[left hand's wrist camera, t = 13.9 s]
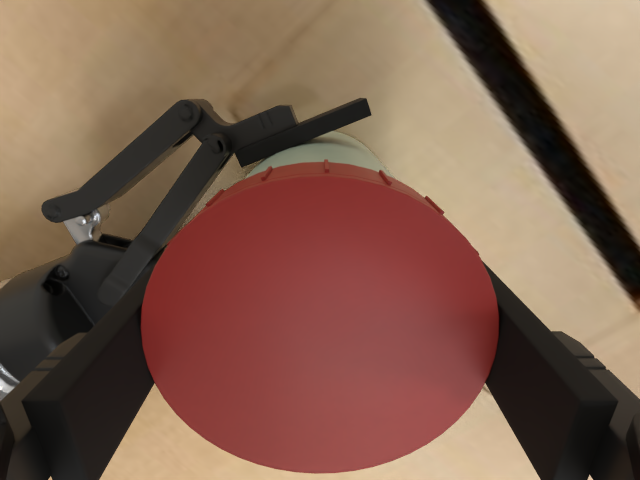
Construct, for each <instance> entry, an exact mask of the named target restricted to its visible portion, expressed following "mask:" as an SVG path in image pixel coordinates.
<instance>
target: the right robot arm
mask: <svg viewBox="0 0 640 480" xmlns="http://www.w3.org/2000/svg"><path fill="white" fill-rule="evenodd" d="M368 116H371V112H370V108H369V105H368V102H367V99H366V98H359V99H356V100H354V101H352V102H349V103H347V104H344V105H342V106H339V107H337V108H334V109H332V110H330V111H327V112H325V113H322V114H320V115H317V116H315V117H313V118H310V119H308V120H305V121H303V122H300V123H298V121H297V118H296V116H295V113H294V111H293V108H292V106H291V105H279V106H276V107H274V108H271V109H269V110H267V111H264V112H262V113H259V114H257V115H255V116H252V117H250V118H248V119H245V120H243V121H240V122H238V123H236V124H231V123H227V122H225V121H224V120H222V119H221V118H220V117H219V116H218V115H217V114H216V112H215V111H214V110H213V107H212V106H211V104H210V103H209V102H208V101H206V100H204V99H188V100H180V101H179V102H177V103H176V104H174V105H173V106H172V107H171V108H170V109H169V110H168V111H167V112H165V113H164V114H163V115H162V116H161V117H160V118H159V119H158V120H156V121H155V122H154V123H153V124H152V125H151V126H150V127H149V128H147V129H146V130H145V131H144V132H143V133H142V134H141V135H140V136H138V137H137V138H136V139H135V140H134V141H133V142H132V143H131V144H129V145H128V146H127V147H126V148H125V149H124V150H123V151H122V152H120V153H119V154H118V155H117V156H116V157H115V158H114V159H113V160H111V161H110V162H109V163H108V164H107V165H106V166H105V167H104V168H102V169H101V170H100V171H99V172H98V173H97V174H96V175H95V176H93V177H92V178H91V179H90V180H89V181H88V182H87V183H86V184H84V185H83V186H82V187H81V188H78V189H75V190H73V191H70V192H68V193H65V194H62V195H60V196H57V197H55V198H52V199H50V200H47V201H45V202H44V203H43V205H42V213H43V215H44V216H45V217H46V219H48V220H50V221H51V222H55V223H58V222H64V224H65V226H66V227H67V229H68V231H69V232H70V234H71V236H72V238H73V239H74V241H75V243H76V244H77V245H76V246H75V247H74V248H73V250H72V251H71V253H70V254H69V255H67V256H64V257H62V258H59V259H57V260H54V261H51V262H49V263H46V264H44V265H41V266H39V267H36V268H34V269H31V270H29V271H26V272H24V273H21V274H19V275H17V276H15V277H14V278H10V279H6V280H3V281H1V282H0V401H1V400H2V399H3V398H4V397H5V396H6V395H7V394H8V393H9V392H10V391H11V390H12V389H14V388H15V387H16V386H17V385H18V384H19V383H20V382H21V381H22V380H23V379H24V378H25V377H26V376H27V375H28V374H29V373H30V372H31V371H34V370H35V367H36V366H38V365H39V364H40V363H41V362H42V361H43V360H46V357H47V356H48V355H49V354H50V353H51V352H52V351H53V350H54V349H55V348H56V347H57V346H58V345H59V344H61V343H62V342H64V341H66V340H67V339H69V338H71V337H72V336H74V335H76V334H77V333H88V332H89V331H90V330H91V329H92V328H93V327H94V326H95V325H96V324H97V323H98V322H99V321H100V320H101V319H102V318H103V316H104V315H105V314H106V313H107V312H108V311H109V310H110V309H111V308H112V307H113V306H114V305H115V304H116V303H117V302H118V301H119V300H120V299H121V298H122V297H123V296H124V295H125V294H126V293H127V292H128V291H129V290H130V289H131V288H132V287H133V286H134V285H135V284H136V283H137V282H138V281H139V280H140V279H141V278H142V276H143V275H144V274H145V273H146V272H147V271H148V270H149V269H150V268H151V267H152V266H153V265H154V264H155V263H156V262H157V261H158V260H159V259H160V257H161V255H162V254H163V252H164V251H165V248H166V247H167V243H168V242H169V241H170V240H171V239H172V238H173V237H174V236H175V235H176V233H177V232H178V229H179V228H180V227H181V225H182V224H183V222H184V221H185V220H186V218H187V217H188V216H189V214H190V213H191V211H192V210H193V209H194V207H195V206H196V205H197V203H198V202H199V201H200V199H201V198H202V196H203V195H204V194H205V192H206V191H207V190H208V188H209V187H210V185H211V184H212V183H213V181H214V180H215V179H216V177H217V176H218V175H219V173H220V172H221V170H222V169H223V168H224V166H225V165H226V164H227V162H228V161H229V159H230V158H231V157H232V155H233V154H234V153H235V155H236V157H237V159H238V161H239V163H240V165H241V167H244V166H246V165H249V164H251V163H254V162H256V161H259V160H261V159H264V158H266V157H269V156H271V155H274V154H276V153H279V152H281V151H284V150H286V149H289V148H291V147H294V146H296V145H299V144H301V143H304V142H306V141H309V140H311V139H314V138H316V137H319V136H321V135H323V134H326V133H328V132H331V131H333V130H336V129H338V128H341V127H343V126H346V125H348V124H351V123H353V122H356V121H358V120H361V119H363V118H366V117H368ZM193 135H194V136H195V137H196V138H197V139H198V140H199V141H200V142H201V143H202V144H201V146H200V147H199V149H198V150H197V152H196V153H195V155H194V156H193V158H192V159H191V160H190V162H189V163H188V165H187V166H186V168H185V169H184V171H183V172H182V173H181V175H180V176H179V178H178V179H177V181H176V182H175V184H174V185H173V186H172V188H171V189H170V191H169V192H168V194H167V195H166V197H165V198H164V199H163V201H162V202H161V204H160V205H159V207H158V208H157V210H156V211H155V212H154V214H153V215H152V217H151V218H150V220H149V221H148V223H147V224H146V225H145V227H144V228H143V230H142V231H141V232H140V234H139V235H138V236H137V237H136V238H135V239H134V240H130V239H126V238H122V237H117V236H113V235H109V234H102V233H101V231H100V226H101V223H102V222H103V221H105V220H106V219H107V218H108V217H109V211H110V205H109V204H108V203H109V202H111V201H113V200H115V199H117V198H119V197H121V196H122V195H123V194H125V193H126V192H127V191H128V190H130V189H131V188H132V187H133V186H134V185H136V184H137V183H138V182H139V181H140V180H141V179H143V178H144V177H145V176H146V175H147V174H149V173H150V172H151V171H152V170H153V169H154V168H156V167H157V166H158V165H159V164H160V163H161V162H163V161H164V160H165V159H166V158H167V157H169V156H170V155H171V154H172V153H173V152H174V151H176V150H177V149H178V148H179V147H180V146H182V145H183V144H184V143H185V142H186V141H187V140H189V139H190V138H191V137H192V136H193Z"/></svg>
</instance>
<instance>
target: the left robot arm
mask: <svg viewBox="0 0 640 480" xmlns="http://www.w3.org/2000/svg"><path fill="white" fill-rule="evenodd" d="M157 262H158V261H157ZM157 262H156V263H155V264H154V265H153V266H152V267H151V268H150V269H149V270H148V271H147V272H146V273H145V274H144V275H143V276H142V278H141V279H140V280H139V281H138V282H137V283H136V284H135V285H134V286H133V287H132V288H131V289H130V290H129V291H128V292H127V293H126V294H125V295H124V296H123V297H122V298H121V299H120V300H119V301H118V302H117V303H116V304H115V305H114V306H113V307H112V308H111V309H110V310H109V311H108V312H107V313H106V314H105V315H104V316H103V318H102V319H101V320H100V321H99V322H98V323H97V324H96V325H95V326H94V327H93V328H92V329H91V330H90V331H89V332H88V333H77V334H76V335H74V336H72V337H71V338H69V339H67V340H66V341H64V342H62V343H61V344H59V345H58V346H57V347H56V348H55V349H54V350H53V351H52V352H51V353H50V354H49V355H48V356H47V357H46V360H43V361H42V362H41V363H40V364H39V365H38V366H36V367H35V370H34V371H31V372H30V373H29V374H28V375H27V376H26V377H25V378H24V379H23V380H22V381H21V382H20V383H19V384H18V385H17V386H16V387H15V388H14V389H12V390H11V391H10V392H9V393H8V394H7V395H6V396H5V397H4V398H3V399H2V400H1V401H0V480H48V479H49V477H50V476H51V477H52V480H99V479H100V477H101V475H102V474H103V472H104V470H105V468H106V467H107V465H108V463H109V461H110V460H111V458H112V456H113V455H114V453H115V451H116V449H117V448H118V446H119V444H120V442H121V441H122V439H123V437H124V435H125V434H126V432H127V430H128V428H129V427H130V425H131V423H132V421H133V420H134V418H135V416H136V414H137V413H138V411H139V409H140V407H141V406H142V404H143V402H144V400H145V399H146V397H147V395H148V393H149V392H150V390H151V388H152V386H153V385H154V383H155V382H154V380H153V378H152V375H151V373H150V371H149V368H148V366H147V362H146V358H145V355H144V351H143V346H142V337H141V312H142V304H143V299H144V295H145V291H146V286H147V284H148V282H149V279H150V277H151V274H152V272H153V269H154V267H155V265H156V264H157ZM482 262H483V261H482ZM483 264H484V266H485V268H486V270H487V272H488V274H489V276H490V279H491V282H492V285H493V288H494V292H495V295H496V299H497V306H498V313H499V339H498V344H497V350H496V355H495V359H494V362H493V365H492V367H491V370H490V373H489V376H488V378H487V380H486V382H485V383H486V385H487V387H488V388H489V390H490V392H491V394H492V395H493V397H494V399H495V401H496V402H497V404H498V406H499V408H500V409H501V411H502V413H503V415H504V416H505V418H506V420H507V422H508V423H509V425H510V427H511V429H512V430H513V432H514V434H515V436H516V437H517V439H518V441H519V442H520V444H521V446H522V448H523V449H524V451H525V453H526V455H527V456H528V458H529V460H530V462H531V463H532V465H533V467H534V469H535V470H536V472H537V474H538V476H539V477H540V479H541V480H587V479H588V477H589V474H590V476H591V477H592V478H593V480H640V399H639V398H638V397H637V396H636V395H635V394H634V393H633V392H631V391H630V390H629V389H628V388H627V387H626V386H625V385H624V384H623V383H622V382H621V381H620V380H619V379H618V378H617V377H616V376H615V375H614V374H613V373H612V372H610V371H609V370H606V367H605V366H604V365H603V364H602V363H601V362H600V361H599V360H598V359H597V358H594V355H593V354H592V353H591V352H590V351H588V350H587V349H586V348H585V347H584V346H583V345H582V344H581V343H580V342H578V341H577V340H575V339H573V338H572V337H570V336H568V335H567V334H565V333H563V332H561V331H550V330H549V329H548V328H547V327H546V326H545V325H544V324H543V323H542V322H541V321H540V320H539V319H538V318H537V317H536V316H535V315H534V314H533V313H532V311H531V310H530V309H529V308H528V307H527V306H526V305H525V304H524V303H523V302H522V301H521V300H520V299H519V298H518V297H517V296H516V295H515V294H514V293H513V292H512V291H511V290H510V289H509V288H508V287H507V286H506V285H505V284H504V283H503V282H502V281H501V280H500V279H499V278H498V277H497V276H496V275H495V274H494V272H493V271H492V270H491V269H490V268H489V267H488V266H487V265H486V264H485V263H484V262H483Z"/></svg>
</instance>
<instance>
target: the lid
mask: <svg viewBox="0 0 640 480" xmlns="http://www.w3.org/2000/svg"><path fill="white" fill-rule="evenodd" d="M443 214H444V212H443V211H442V210H441V209H440V208H439V207H438V206H437V205H436V204H435V203H434V202H433V201H432V200H431V199H430V198H429V197H428V196H426V197H425V198H424V197H423V196H421V195H420V194H419V193H417V192H416V191H415V190H413V189H412V188H411V187H409V186H407V185H405V184H403V183H401V182H400V181H398V180H396V179H394V178H392V177H390V176H387V175H386V174H385V173H384V171H382V170H379V172H377V171H374V170H372V169H368V168H364V167H359V166H355V165H351V164H344V163H334V162H328V159H324V162H303V163H296V164H290V165H284V166H279V167H276V168H272V166H269V167H268V168H267V169H266V171H263V172H260V173H257V174H255V175H253V176H250V177H248V178H246V179H244V180H242V181H240V182H238V183H236V184H235V185H233V186H231V187H230V188H228V189H227V190H225V191H224V190H223V189H222V190H220V191H219V192H218V193H217V194H216V195H215V196H214V197H213V198H212V199H211V200H210V201H209V202H208V203H207V204H206V207H204V208H203V209H202V210H201V211H200V212H199V213H198V214H197V215H196V216H195V217H194V218H193V219H192V220H191V221H190V222H189V223H188V224H186V225H185V226H184V227H183V228H182V229H181V230H180V231H179V232H178V233H177V234H176V235H175V236H174V237H173V238H172V239H171V240H170V241H169V242H168V243H167V247H166V249H165V251H164V252H163V254H162V255H161V257H160V259H159V260H158V262H157V264H156V265H155V267H154V269H153V272H152V274H151V277H150V279H149V282H148V284H147V286H146V291H145V295H144V299H143V304H142V312H141V337H142V346H143V351H144V355H145V358H146V362H147V366H148V368H149V371H150V373H151V375H152V378H153V380H154V382H155V384H156V386H157V387H158V389H159V391H160V392H161V394H162V396H163V397H164V399H165V400H166V402H167V403H168V404H169V405H170V407H171V408H172V409H173V410H174V412H175V413H176V414H177V415H178V416H179V417H180V418H181V419H182V420H183V421H184V422H185V423H186V424H187V425H188V426H189V427H190V428H192V429H193V430H194V431H195V432H197V433H198V434H199V435H201V436H202V437H203V438H204V439H206V440H207V441H209V442H211V443H212V444H214V445H216V446H217V447H219V448H221V449H222V450H224V451H227V452H229V453H231V454H233V455H235V456H237V457H239V458H242V459H245V460H247V461H250V462H253V463H256V464H259V465H263V466H267V467H270V468H274V469H279V470H286V471H292V472H302V473H339V472H348V471H355V470H360V469H365V468H370V467H374V466H377V465H381V464H384V463H387V462H390V461H393V460H396V459H398V458H400V457H403V456H405V455H408V454H410V453H412V452H414V451H415V450H417V449H419V448H421V447H423V446H425V445H426V444H428V443H429V442H431V441H432V440H434V439H435V438H437V437H438V436H440V435H441V434H442V433H444V432H445V431H446V430H447V429H448V428H449V427H451V426H452V425H453V424H454V423H455V422H456V421H457V420H458V419H459V418H460V417H461V416H462V415H463V414H464V413H465V411H466V410H467V409H468V408H469V407H470V406H471V404H472V403H473V401H474V400H475V398H476V397H477V396H478V394H479V393H480V391H481V389H482V387H483V385H484V383H485V382H486V380H487V378H488V376H489V373H490V370H491V367H492V365H493V362H494V359H495V355H496V350H497V344H498V339H499V313H498V306H497V299H496V295H495V292H494V288H493V285H492V282H491V279H490V276H489V274H488V272H487V270H486V268H485V266H484V264H483V262H482V260H481V258H480V257H479V253H478V252H477V251H476V250H475V249H474V248H473V247H472V246H471V244H470V243H469V241H468V240H467V239H466V238H465V237H464V236H463V235H462V234H461V233H460V232H459V231H458V230H457V229H456V228H455V227H454V226H453V225H452V224H451V223H450V222H449V221H448V220H447V219H446V218H445V217H444V216H443Z"/></svg>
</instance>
